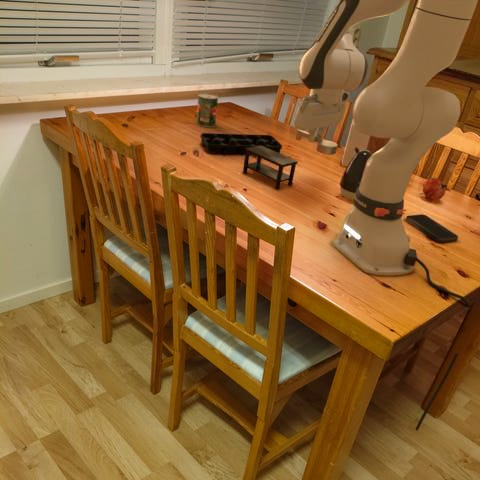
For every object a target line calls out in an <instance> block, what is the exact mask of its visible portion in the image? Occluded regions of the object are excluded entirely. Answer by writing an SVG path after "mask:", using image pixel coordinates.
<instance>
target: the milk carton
mask: <svg viewBox="0 0 480 480" xmlns="http://www.w3.org/2000/svg"><path fill="white" fill-rule="evenodd" d="M370 138H371V136H369V135H366V134H363V133H361V132H359V131H358V130H357V128H356V126H355V124H354V120H353V119H351V124H350V127H349V132H348V136H347V139H346V143H345V147H344V152H343V155H342V158H341V166H342V167H346V168H347V166H348V164H349V162H350V161H351V159H352V158H353V157H354V156H355V155H356V152H355V148H358V149H359V151H361V150H367V148H368V146H369V142H370Z"/></svg>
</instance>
